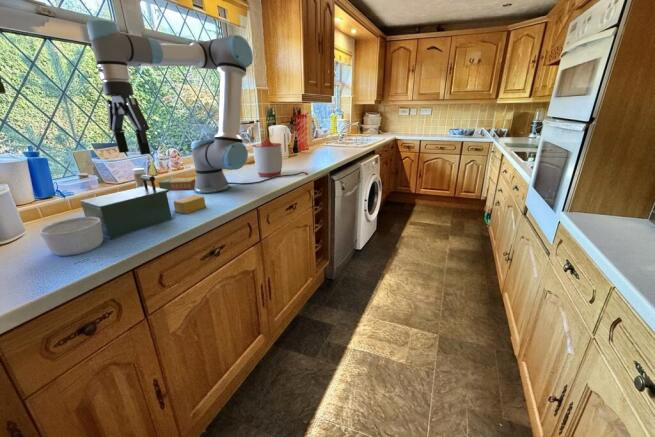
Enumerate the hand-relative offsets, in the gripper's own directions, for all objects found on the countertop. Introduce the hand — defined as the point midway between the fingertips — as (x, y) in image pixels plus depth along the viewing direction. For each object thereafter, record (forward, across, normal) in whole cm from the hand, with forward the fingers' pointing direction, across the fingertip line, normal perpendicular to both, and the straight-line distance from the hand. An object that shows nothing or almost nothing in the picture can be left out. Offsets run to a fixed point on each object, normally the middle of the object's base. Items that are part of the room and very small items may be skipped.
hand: (134, 153), depth 98 cm
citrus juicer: (+23, -12, +74) cm, 78 cm away
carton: (+23, -33, +33) cm, 52 cm away
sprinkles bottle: (+23, -27, +13) cm, 38 cm away
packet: (+23, +3, +14) cm, 27 cm away
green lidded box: (+23, 0, -6) cm, 24 cm away
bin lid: (+13, 0, -6) cm, 15 cm away
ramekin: (+23, +6, -23) cm, 33 cm away
